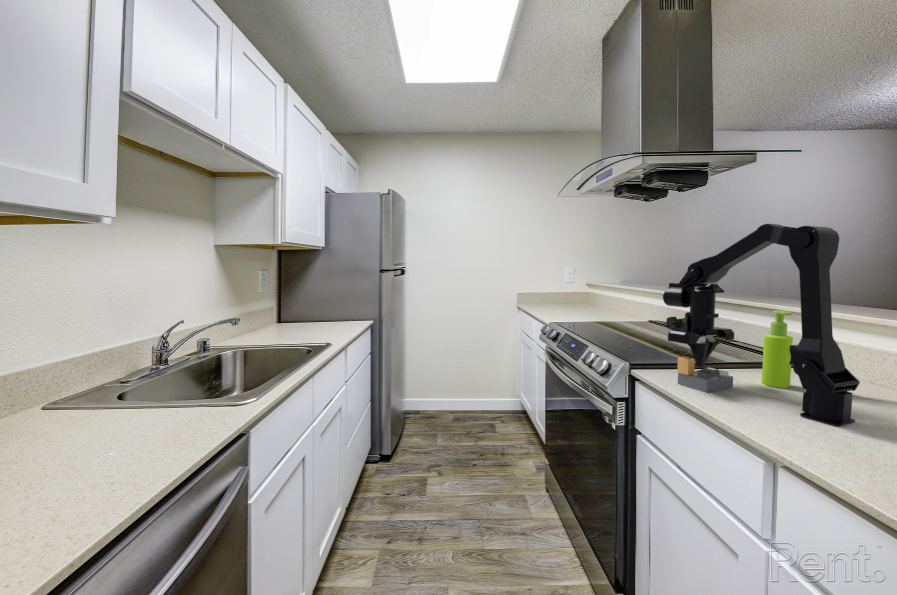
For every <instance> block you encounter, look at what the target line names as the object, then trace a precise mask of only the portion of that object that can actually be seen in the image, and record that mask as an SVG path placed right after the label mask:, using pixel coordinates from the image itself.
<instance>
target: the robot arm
mask: <svg viewBox="0 0 897 595" xmlns="http://www.w3.org/2000/svg"><path fill="white" fill-rule="evenodd" d="M839 243H840V236H839V233H838V232H837V231H836V230H835V229H833V228H832V227H828V226H817V225H816V226H815V225H814V226H813V225H802V226H798V227H793V226H786V225H782V224H778V223H763V224H761V225H760V226H758V227H757V229H756V230H754V231H752V232H750V233H749V234H747V235H746V236H745V237H743V238H741V239H739V240H738V241H736V242H735V243H733V244H731V245H730V246H728V247H727V248H725V249H724V250H722V251H720V252H718V253H717V254H715V255H712V256H709V257H705V258H702V259H699V260H698V261H695V262H692V263H690V264H689V266H688V267H687V271H686V273H684V274H683V276H682V278H681V279H680V280H679V282H669V283H668V287H667V288H666V289H665V290H664V293H663V294H662V299H663V303H664V304H665V305H666V306H667V307H676V308H677V307H678V308H685V309H687V308H689V312H685V313H684V317H683V318H677V317H676V316H669V317H666V323H665V325H666V328H667V330H670V331H669V332H668V333H667V341H668V342H674V343H678V344H685V345H688V347H689V348H690V351H691V352H692V353H691V354H692V356H693V357H694V358H693V359H695V365H696V367H698V368H703V367H704V366H705V364H706V362H707V360H708V359H709V358H710V356H711V354H712V353H713V352H714V350H716V348H717V346H718V345H720V343H721V342H720V341H717V340H716V338H720V339H724V340H725V341H732V340H735V331H733V329H732V328H727V327H726V328H725V327H719V326H715V320H716V319H717V318H719V316H720V315H719V314H720V313H716V295H717V294H723V293H725V290H724V289H723V288H722V287H720V286H719V283H718V282H720V280H721V279H723V278H724V277H725V276H726V275H727V274H728V272H729V271H730V270H731V269H732V268H733V267H735V266H736V265H738V264H740V263H742V262H743V261H745V260H747V259H748V258H750V257H752V256H754V255H756V254H757V253H759V252H761V251H763V250H764V249H766V248H767V247H769V246H771V245H773V244H775V245H779V246H784V247H788V250H789V251H788V252H789V255H790V258H791V259H792V261H793V263H794V265H795V266H796V267H797V269H798V272H799V273H798V274H799V296H800V297H799V298H800V318H801V319H800V320H801V321H800V323H801V339H800V340H799V342H798V343H797V344H793V345H790V348H789V350H790V354H791V360H790V362H789V364H790V365H791V366H792V369H793V373H795V374H796V375H798V378H799V381H800V384H801V387H802V389H804V390H805V392H803V393H802V405H801V406H802V408H801V411H802V412H800V413H799V416H800V417H802V418H803V417H804V418H806V419H810V420H814V421H817V422H822V423H825V424H828V425H831V426H834V427H836V426H837V427H842V426H845V425H849V424H853V423H855V422H856V419H855V418H852V408H853V407H852V406H853V405H852V404H853V391H856V390H857V389H858V387H859V385H860V383H861V382H860V380H859V379H858V378H857V377H856V376H855V375H854V374H853V373H852V372H851V371H850V370H849V369H848V368H846V365H845V361H844V360H845V359H844V357H843V353H842V350H841V348H840V347H838V345H837V343H836V342H837V341H836V342H835V339H834V336H833V316H832V313H833V312H832V292H831V272H830V270H831V266H832V264H833V262H834V261H835V259H836V257H837V255H838V249H839V245H840V244H839Z"/></svg>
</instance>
